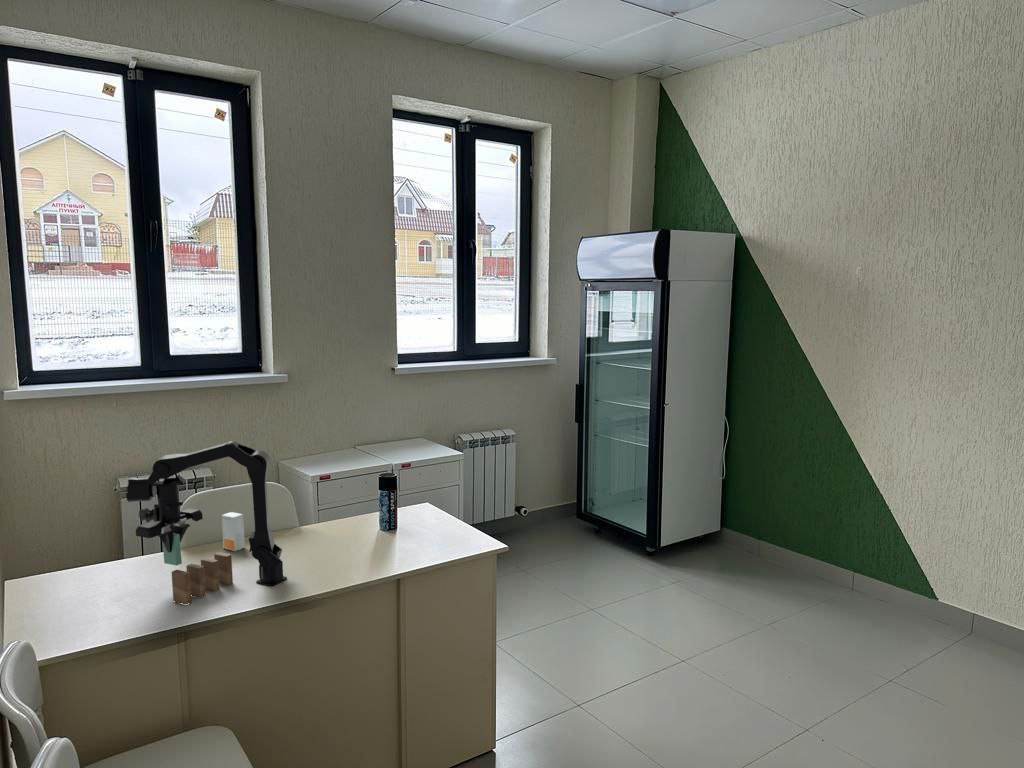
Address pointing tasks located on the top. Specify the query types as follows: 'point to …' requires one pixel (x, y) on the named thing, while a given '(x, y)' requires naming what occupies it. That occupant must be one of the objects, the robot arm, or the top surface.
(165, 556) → the tile
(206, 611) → the top surface
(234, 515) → the skincare box
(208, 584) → the tile
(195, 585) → the tile
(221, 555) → the wooden block
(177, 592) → the brown wooden block
